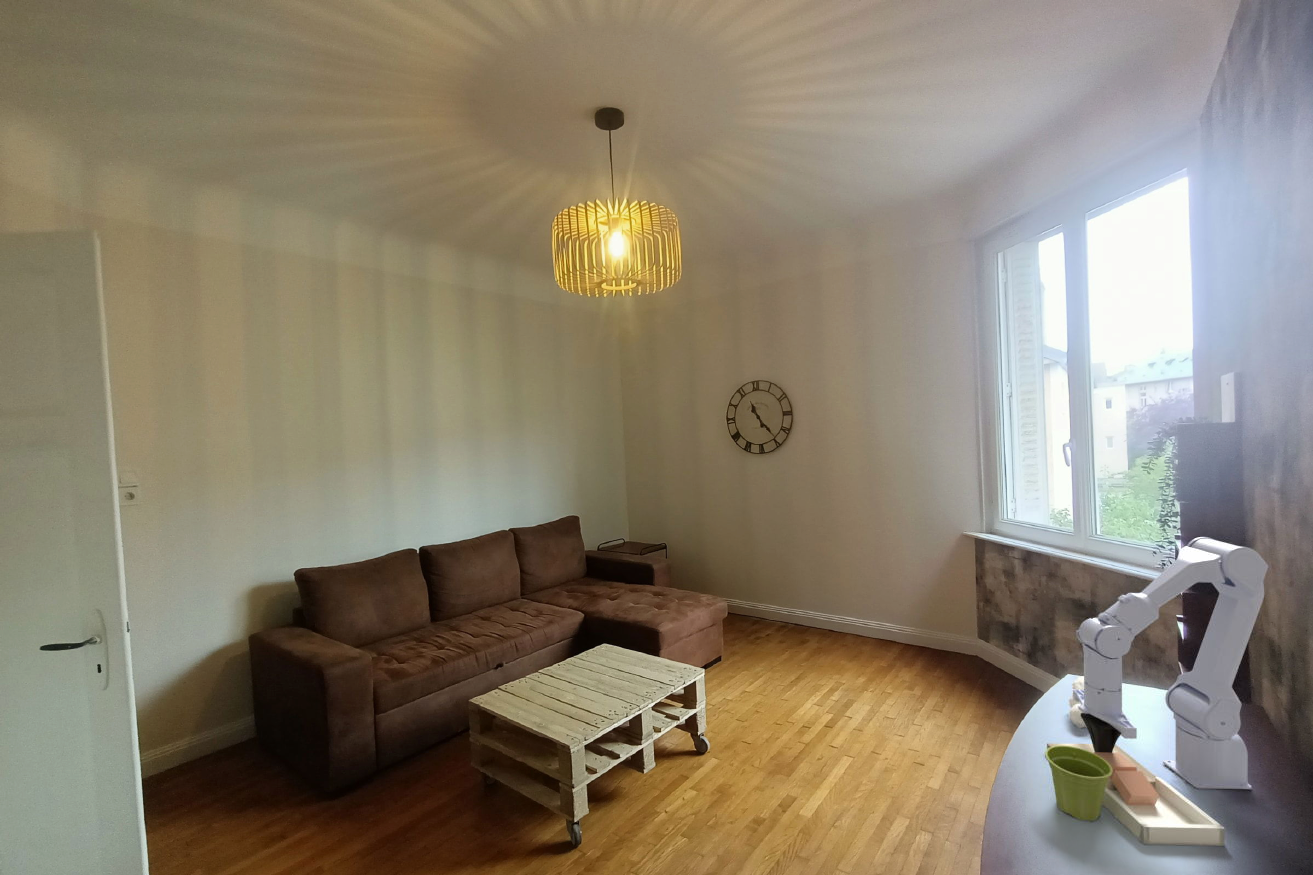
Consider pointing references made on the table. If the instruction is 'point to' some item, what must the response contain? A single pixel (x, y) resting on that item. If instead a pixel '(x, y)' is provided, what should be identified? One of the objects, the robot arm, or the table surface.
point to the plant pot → (1078, 780)
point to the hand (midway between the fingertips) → (1102, 755)
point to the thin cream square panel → (1116, 750)
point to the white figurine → (1076, 704)
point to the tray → (1166, 819)
